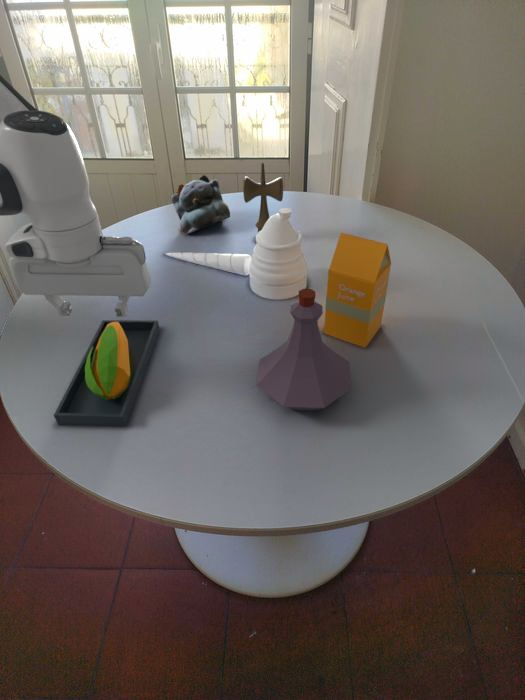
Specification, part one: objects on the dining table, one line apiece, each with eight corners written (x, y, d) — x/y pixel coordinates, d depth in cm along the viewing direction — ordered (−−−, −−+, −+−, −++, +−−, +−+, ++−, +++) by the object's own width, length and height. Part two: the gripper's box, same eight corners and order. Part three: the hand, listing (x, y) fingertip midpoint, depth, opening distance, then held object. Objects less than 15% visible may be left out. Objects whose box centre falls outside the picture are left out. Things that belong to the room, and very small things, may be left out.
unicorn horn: (174, 249, 120) (171, 231, 117) (255, 270, 111) (254, 252, 108) (163, 257, 117) (159, 239, 114) (244, 280, 108) (243, 261, 105)
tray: (58, 426, 76) (53, 415, 74) (105, 330, 95) (102, 320, 93) (126, 427, 75) (122, 416, 73) (160, 330, 94) (158, 320, 93)
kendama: (247, 235, 125) (243, 158, 112) (283, 235, 124) (283, 158, 112) (245, 246, 120) (241, 167, 107) (283, 246, 120) (283, 167, 107)
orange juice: (365, 349, 88) (379, 254, 75) (323, 334, 92) (329, 241, 79) (381, 327, 93) (396, 234, 80) (340, 314, 97) (349, 223, 84)
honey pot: (318, 282, 106) (322, 205, 95) (281, 307, 99) (281, 228, 88) (275, 264, 113) (274, 190, 101) (238, 286, 106) (232, 210, 94)
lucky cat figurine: (175, 238, 125) (158, 185, 121) (188, 235, 136) (172, 187, 133) (228, 221, 122) (211, 167, 118) (237, 220, 133) (222, 170, 129)
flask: (326, 351, 88) (334, 256, 75) (369, 413, 76) (387, 312, 63) (243, 372, 84) (236, 276, 71) (274, 440, 72) (272, 339, 59)
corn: (76, 380, 72) (88, 306, 87) (86, 414, 77) (95, 339, 92) (126, 375, 73) (129, 303, 88) (133, 408, 78) (134, 335, 93)
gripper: (146, 227, 69) (161, 304, 78) (12, 226, 70) (42, 302, 79) (136, 248, 65) (152, 327, 74) (-8, 246, 66) (26, 324, 75)
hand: (94, 314), depth 77 cm, fingers open, 8 cm apart
